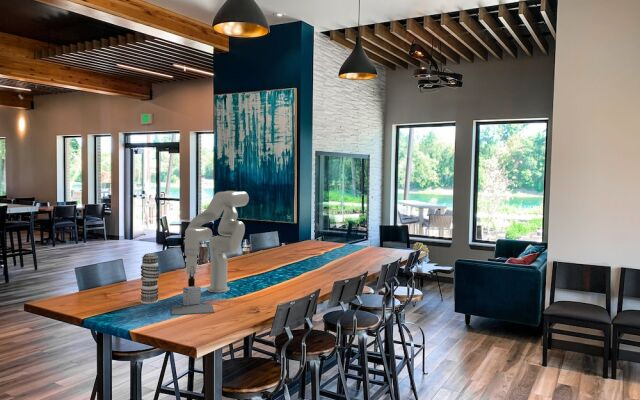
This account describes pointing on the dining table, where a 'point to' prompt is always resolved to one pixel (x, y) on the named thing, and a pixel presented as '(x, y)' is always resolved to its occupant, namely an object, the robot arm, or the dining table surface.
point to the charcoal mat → (192, 309)
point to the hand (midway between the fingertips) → (191, 286)
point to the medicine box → (191, 295)
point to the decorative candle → (149, 278)
